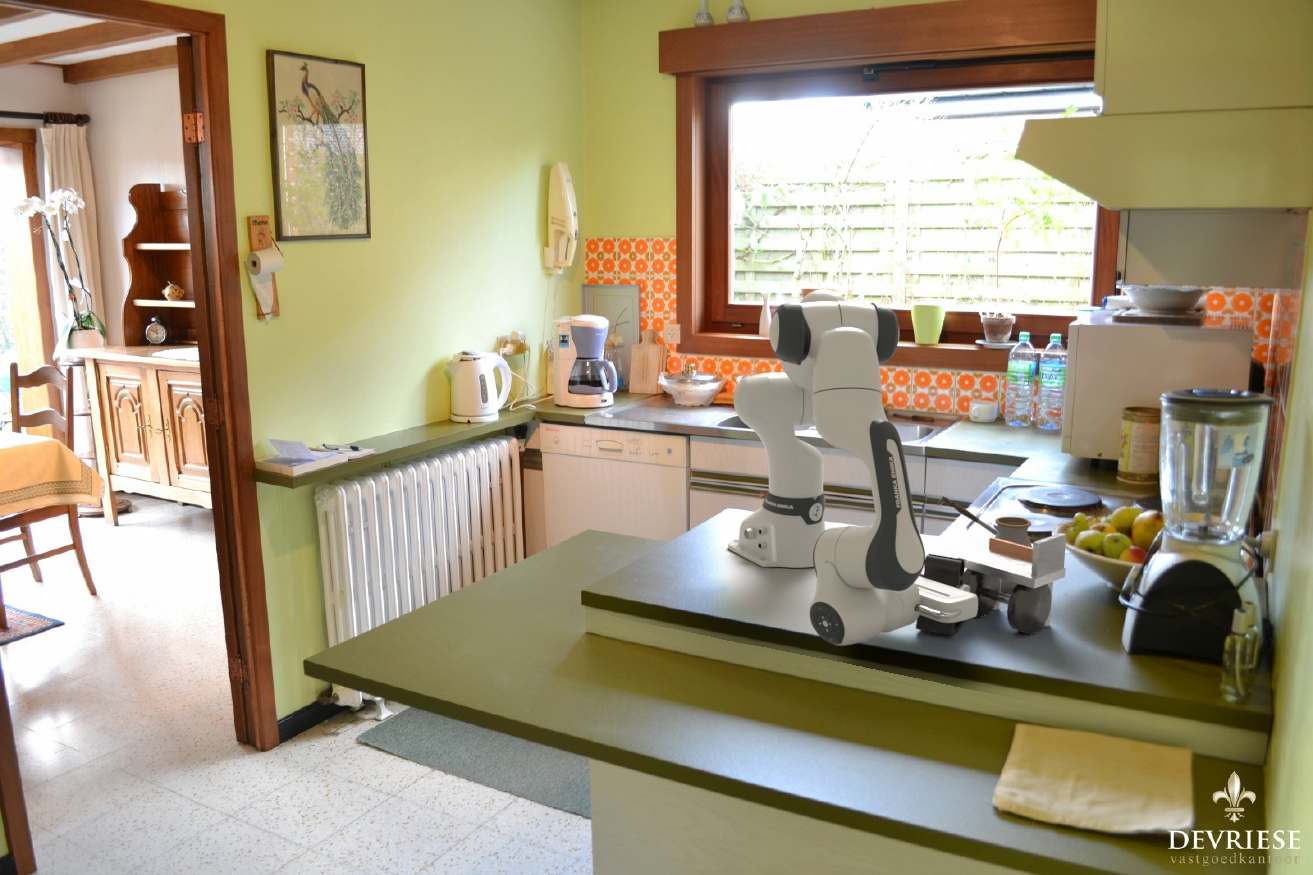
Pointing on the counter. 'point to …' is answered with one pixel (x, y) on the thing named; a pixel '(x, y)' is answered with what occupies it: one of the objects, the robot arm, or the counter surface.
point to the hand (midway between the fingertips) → (947, 582)
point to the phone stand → (948, 574)
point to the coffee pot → (1001, 533)
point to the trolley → (1017, 579)
